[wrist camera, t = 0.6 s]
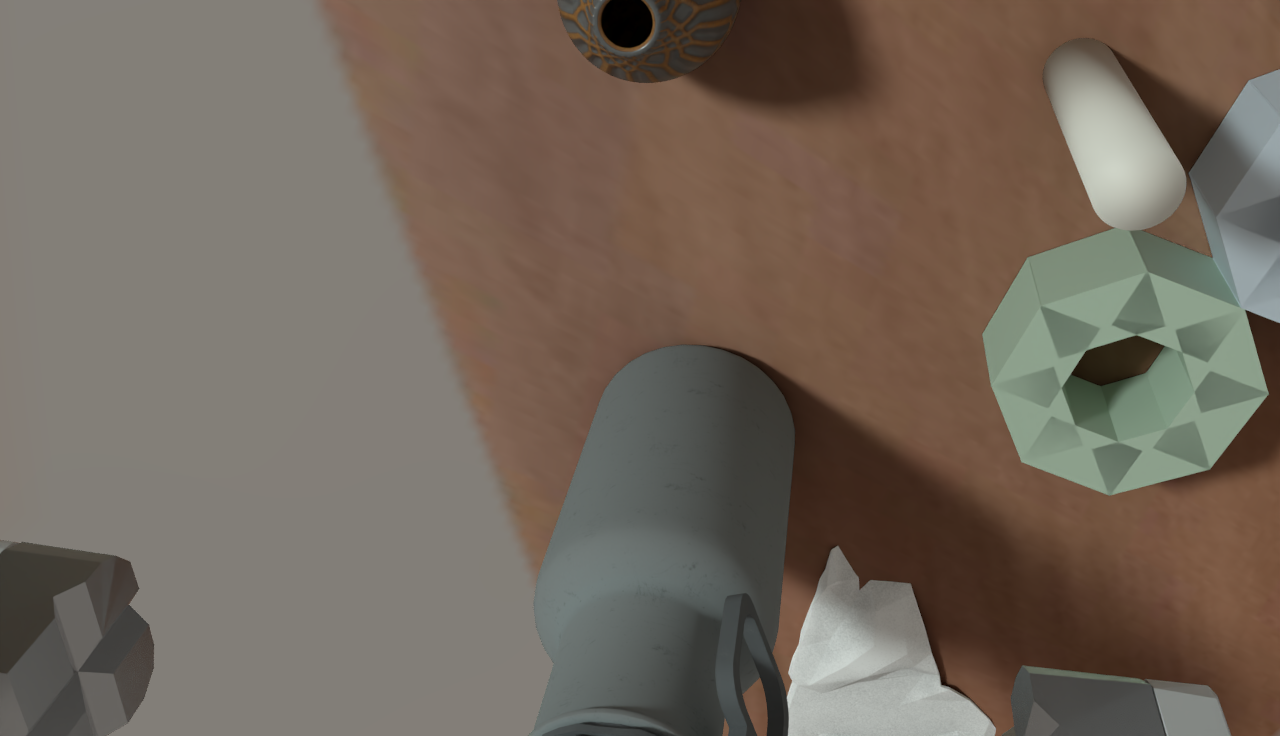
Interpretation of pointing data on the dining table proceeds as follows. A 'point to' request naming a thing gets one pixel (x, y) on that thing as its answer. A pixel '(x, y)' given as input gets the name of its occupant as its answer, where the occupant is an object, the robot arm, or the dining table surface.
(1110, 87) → the dowel
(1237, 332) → the bead
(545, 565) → the water bottle
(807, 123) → the dining table surface
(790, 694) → the cloth
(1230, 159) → the bead
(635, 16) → the vase
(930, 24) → the dining table surface
